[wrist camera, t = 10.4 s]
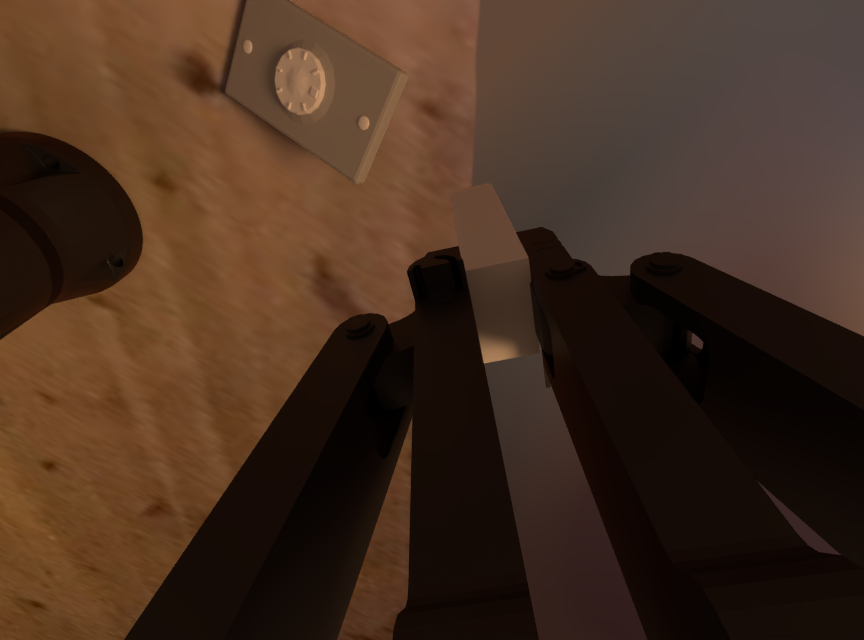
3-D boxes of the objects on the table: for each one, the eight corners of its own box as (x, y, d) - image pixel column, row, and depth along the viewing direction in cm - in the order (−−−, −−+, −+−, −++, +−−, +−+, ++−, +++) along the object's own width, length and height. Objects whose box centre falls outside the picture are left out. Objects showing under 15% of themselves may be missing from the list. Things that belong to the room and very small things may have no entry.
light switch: (240, -28, 32) (396, 68, 29) (295, 1, 37) (432, 85, 34) (213, 91, 36) (348, 185, 33) (267, 102, 41) (387, 184, 38)
